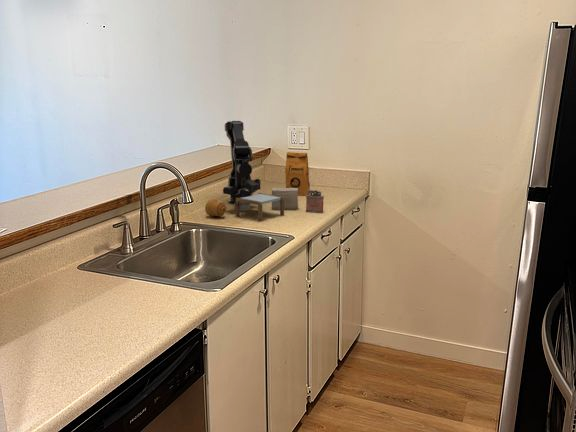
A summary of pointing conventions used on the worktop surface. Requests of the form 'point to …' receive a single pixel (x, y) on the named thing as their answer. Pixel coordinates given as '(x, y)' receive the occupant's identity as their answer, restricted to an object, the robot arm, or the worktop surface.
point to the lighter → (314, 202)
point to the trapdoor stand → (245, 201)
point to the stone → (243, 206)
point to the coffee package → (297, 172)
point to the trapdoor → (262, 198)
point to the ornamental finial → (215, 208)
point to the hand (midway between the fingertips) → (242, 207)
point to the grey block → (286, 198)
